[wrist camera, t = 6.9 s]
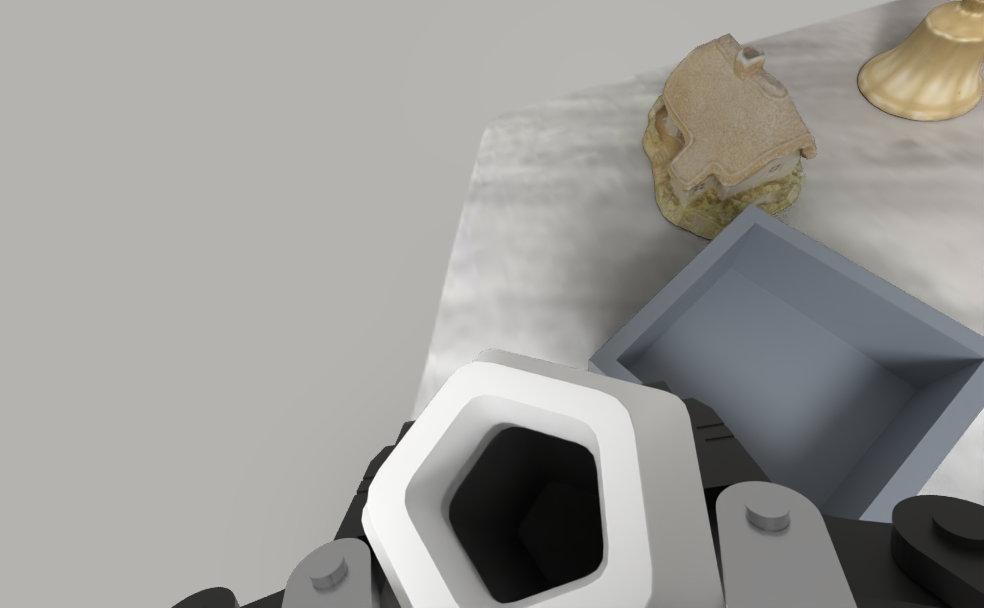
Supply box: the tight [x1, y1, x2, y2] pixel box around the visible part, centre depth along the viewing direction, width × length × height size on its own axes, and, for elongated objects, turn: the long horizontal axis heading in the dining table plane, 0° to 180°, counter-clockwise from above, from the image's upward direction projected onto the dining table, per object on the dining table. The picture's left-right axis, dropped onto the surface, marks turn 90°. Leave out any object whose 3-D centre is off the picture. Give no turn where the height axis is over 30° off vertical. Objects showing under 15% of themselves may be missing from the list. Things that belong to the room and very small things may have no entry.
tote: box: [588, 204, 984, 523], centre depth 26 cm, size 14×14×6 cm
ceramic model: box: [643, 34, 817, 240], centre depth 33 cm, size 14×11×10 cm
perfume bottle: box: [362, 349, 725, 608], centre depth 10 cm, size 5×4×15 cm
